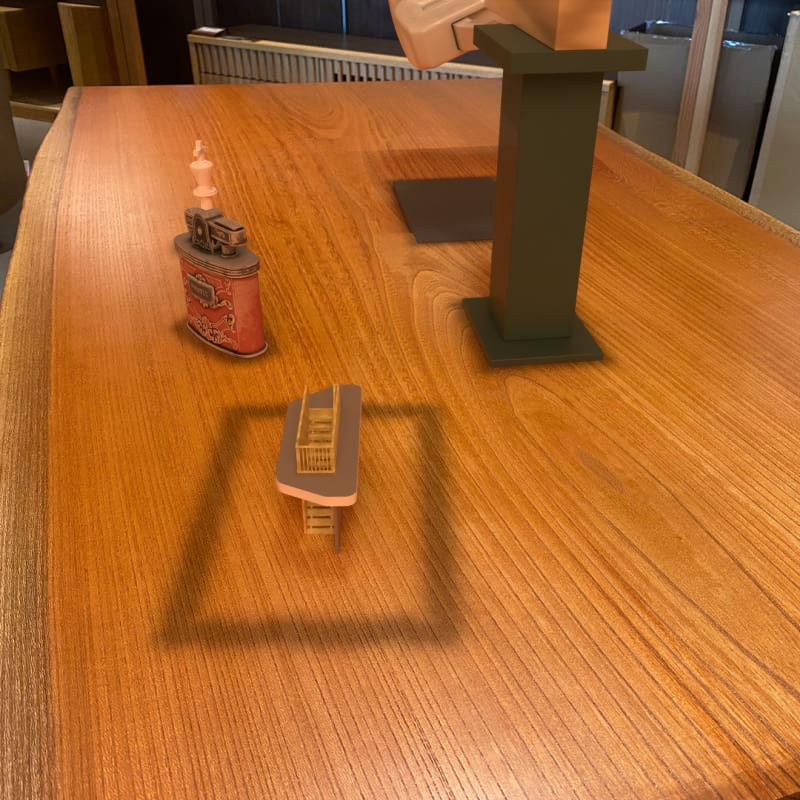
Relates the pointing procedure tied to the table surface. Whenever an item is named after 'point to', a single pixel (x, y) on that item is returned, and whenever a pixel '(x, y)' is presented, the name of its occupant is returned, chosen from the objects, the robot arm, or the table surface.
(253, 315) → the lighter
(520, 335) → the stand
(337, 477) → the platform
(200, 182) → the chess piece
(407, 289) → the table surface
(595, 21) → the ash bar
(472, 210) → the mat
